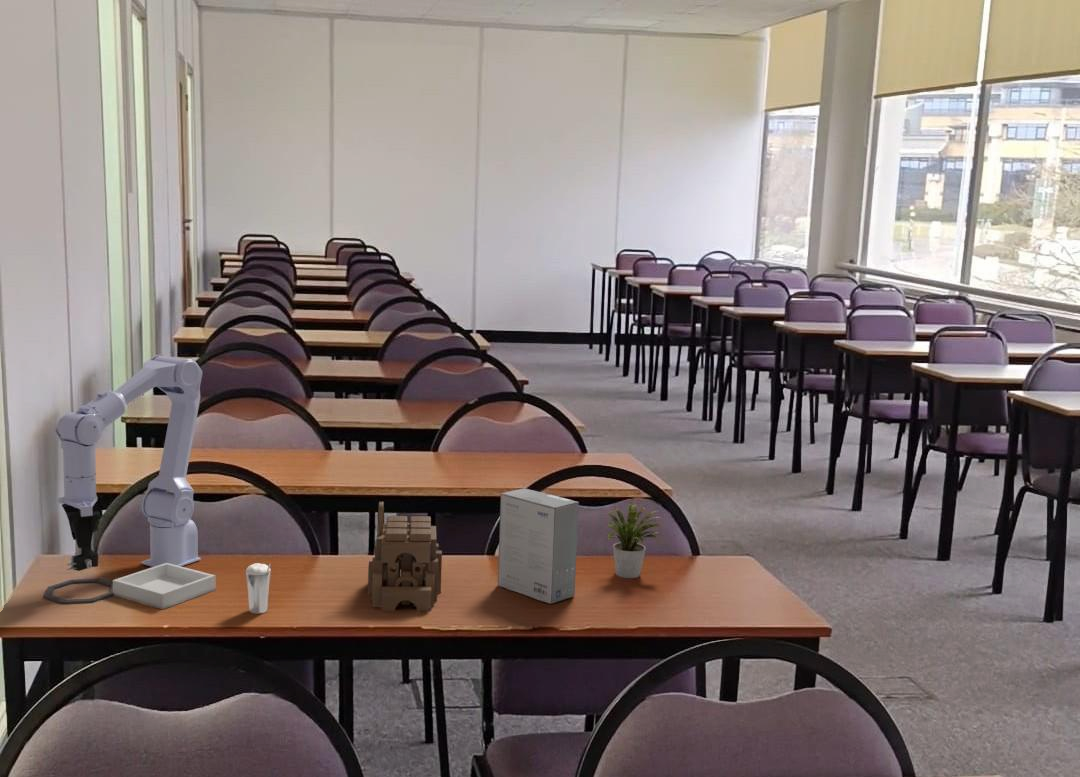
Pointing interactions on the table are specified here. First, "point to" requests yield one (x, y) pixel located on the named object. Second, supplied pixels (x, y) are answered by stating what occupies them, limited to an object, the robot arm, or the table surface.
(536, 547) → the hard drive box
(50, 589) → the seat ring
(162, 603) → the tray
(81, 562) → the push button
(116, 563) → the table surface
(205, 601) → the table surface
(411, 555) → the wooden puzzle
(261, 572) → the milkshake
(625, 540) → the house plant
